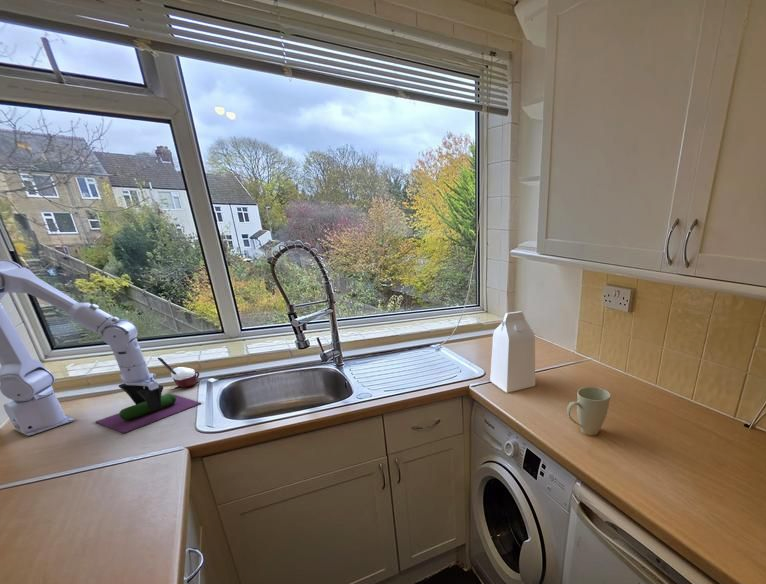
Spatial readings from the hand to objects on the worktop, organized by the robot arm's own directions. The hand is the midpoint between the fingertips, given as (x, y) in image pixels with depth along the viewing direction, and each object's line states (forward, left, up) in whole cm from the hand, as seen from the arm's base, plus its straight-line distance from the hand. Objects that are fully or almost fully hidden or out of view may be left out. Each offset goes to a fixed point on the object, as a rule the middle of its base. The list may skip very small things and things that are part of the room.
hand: (148, 406), depth 120 cm
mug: (+46, -121, -2) cm, 129 cm away
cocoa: (+16, +11, -2) cm, 20 cm away
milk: (+68, -88, -2) cm, 111 cm away
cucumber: (0, 0, -2) cm, 2 cm away
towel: (0, 0, -2) cm, 2 cm away
